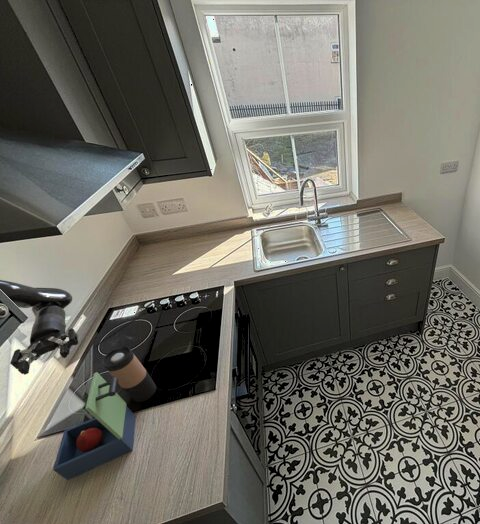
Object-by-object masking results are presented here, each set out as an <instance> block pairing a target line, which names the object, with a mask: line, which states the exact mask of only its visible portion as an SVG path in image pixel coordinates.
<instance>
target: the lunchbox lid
mask: <svg viewBox="0 0 480 524" xmlns="http://www.w3.org/2000/svg"><path fill="white" fill-rule="evenodd" d="M117 389H118V378H113V377H112V378H111V379H110V380H108V381H106V380H105V379H104V378H103V377H102V376H101V374H99V372H97V371H96V372H94V373H93V375H92V380H91V383H90V388H89V391H88V396H87V401H86V404H85V410H86V411H87V412H88V413H89V414H90V415H91V416H92V417H94V418H96V419H97V420H98V421H99V422H100V423H101V424H102V425H104V426H105V427H106V428H107V429H108V430H109V431H110V432H111V433H112V434H113V435H115V436H116V437H117V438H118V439H121V438H122V435H123V428H124V420H125V412H126V406H127V402H126V401H125V400H124V399H123V398H122V396H120V395H119V394H118V392H117Z"/></svg>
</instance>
